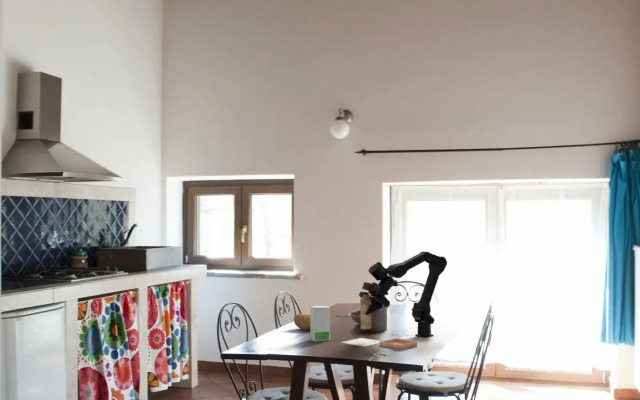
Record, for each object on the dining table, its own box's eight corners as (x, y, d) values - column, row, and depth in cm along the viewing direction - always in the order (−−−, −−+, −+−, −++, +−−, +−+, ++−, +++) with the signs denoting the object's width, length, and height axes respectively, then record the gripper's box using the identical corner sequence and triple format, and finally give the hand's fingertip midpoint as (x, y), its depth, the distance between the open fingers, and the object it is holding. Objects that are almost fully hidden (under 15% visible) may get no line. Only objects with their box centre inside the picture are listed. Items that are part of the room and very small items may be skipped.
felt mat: (361, 338, 302) (361, 337, 302) (384, 342, 292) (384, 341, 292) (340, 343, 292) (340, 342, 292) (364, 347, 282) (364, 346, 282)
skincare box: (313, 342, 295) (313, 307, 296) (309, 339, 302) (309, 305, 302) (331, 340, 298) (330, 306, 298) (326, 338, 304) (326, 305, 304)
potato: (315, 332, 320) (315, 316, 320) (290, 330, 326) (290, 314, 326) (323, 329, 329) (323, 313, 329) (299, 327, 335) (299, 311, 335)
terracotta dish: (395, 342, 291) (395, 338, 291) (417, 346, 283) (416, 341, 283) (379, 346, 283) (379, 341, 283) (400, 350, 275) (400, 345, 275)
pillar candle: (364, 330, 323) (364, 300, 323) (372, 327, 331) (372, 298, 332) (382, 332, 318) (382, 302, 318) (390, 329, 327) (390, 299, 327)
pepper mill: (365, 326, 296) (364, 293, 296) (373, 327, 292) (372, 293, 293) (358, 328, 292) (357, 294, 292) (366, 329, 289) (366, 294, 289)
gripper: (361, 274, 303) (341, 299, 297) (383, 277, 286) (363, 304, 281) (376, 289, 306) (356, 315, 301) (399, 293, 290) (378, 320, 284)
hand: (363, 313), depth 292 cm, fingers closed on pepper mill, 5 cm apart
